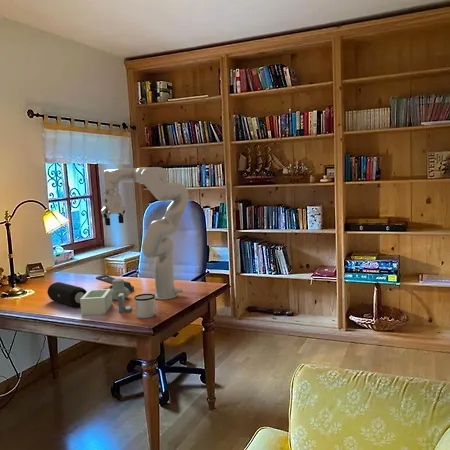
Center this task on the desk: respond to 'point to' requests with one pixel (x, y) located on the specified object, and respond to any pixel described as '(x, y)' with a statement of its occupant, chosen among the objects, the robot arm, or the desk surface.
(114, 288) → the air freshener
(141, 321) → the desk surface
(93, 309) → the well box
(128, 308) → the steel bracket
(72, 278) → the desk surface
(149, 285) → the desk surface
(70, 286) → the portable speaker
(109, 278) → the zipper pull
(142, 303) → the mug
